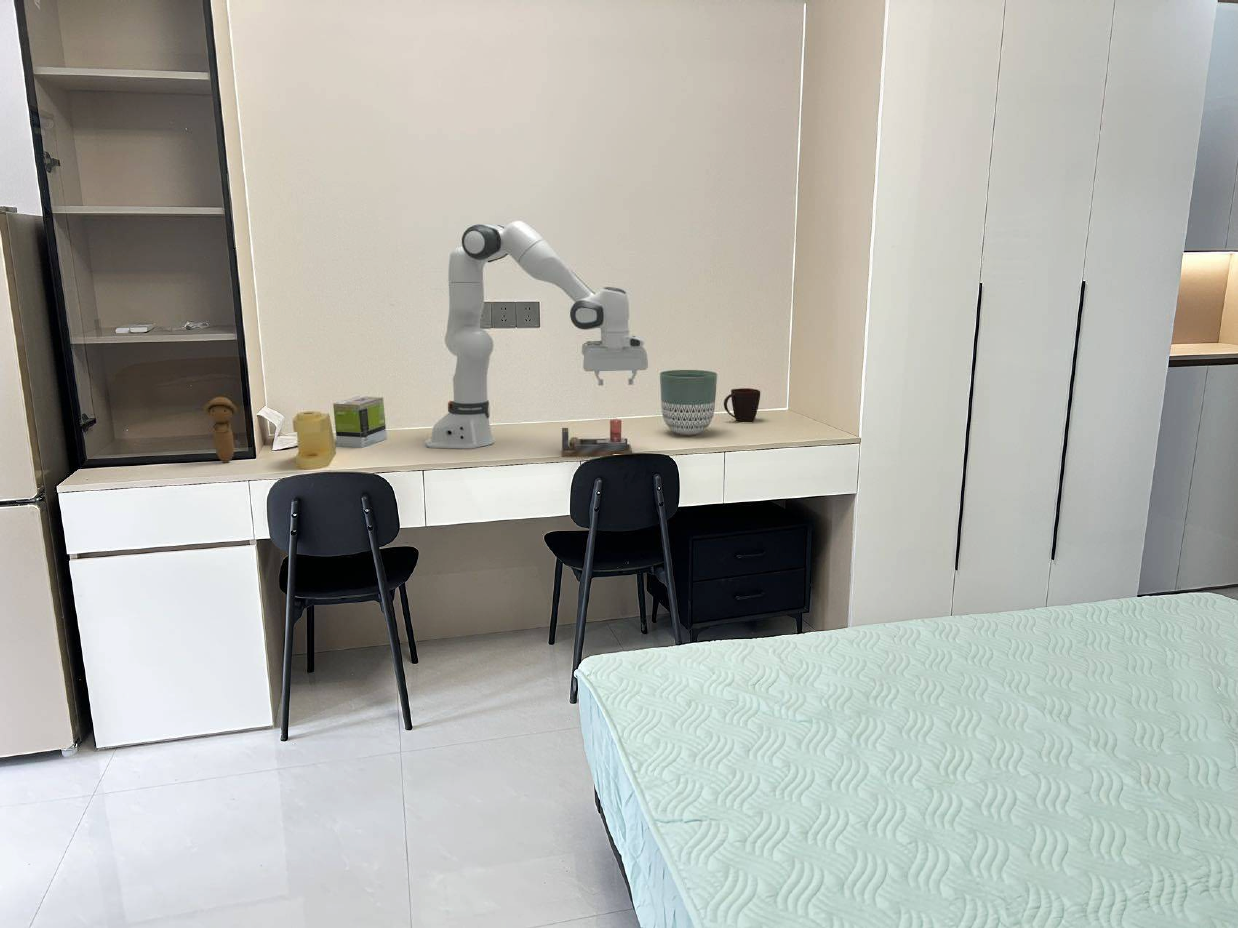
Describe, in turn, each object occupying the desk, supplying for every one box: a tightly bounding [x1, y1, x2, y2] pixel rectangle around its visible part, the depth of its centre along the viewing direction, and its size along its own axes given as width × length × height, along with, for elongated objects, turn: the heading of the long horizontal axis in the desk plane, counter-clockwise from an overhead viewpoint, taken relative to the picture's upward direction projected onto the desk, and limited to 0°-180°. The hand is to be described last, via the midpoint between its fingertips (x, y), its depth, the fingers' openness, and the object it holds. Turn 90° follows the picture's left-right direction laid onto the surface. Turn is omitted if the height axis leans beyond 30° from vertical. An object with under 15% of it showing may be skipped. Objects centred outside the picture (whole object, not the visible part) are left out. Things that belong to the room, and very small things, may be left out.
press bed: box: [561, 427, 634, 458], centre depth 280 cm, size 22×10×8 cm, turn 94°
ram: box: [597, 418, 626, 445], centre depth 279 cm, size 9×7×9 cm
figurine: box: [203, 396, 238, 463], centre depth 265 cm, size 9×7×20 cm
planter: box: [659, 369, 718, 436], centre depth 307 cm, size 20×20×21 cm
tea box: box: [332, 396, 387, 449], centre depth 293 cm, size 15×10×15 cm
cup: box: [723, 387, 761, 423], centre depth 330 cm, size 10×14×12 cm
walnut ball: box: [569, 436, 580, 446], centre depth 279 cm, size 4×4×4 cm
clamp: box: [292, 411, 337, 471], centre depth 266 cm, size 20×9×16 cm, turn 10°
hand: (615, 384), depth 276 cm, fingers open, 8 cm apart
